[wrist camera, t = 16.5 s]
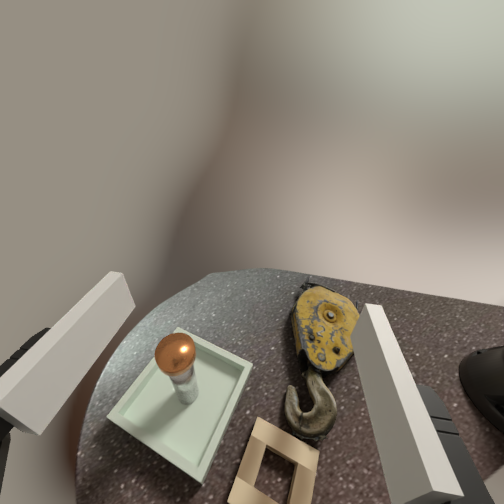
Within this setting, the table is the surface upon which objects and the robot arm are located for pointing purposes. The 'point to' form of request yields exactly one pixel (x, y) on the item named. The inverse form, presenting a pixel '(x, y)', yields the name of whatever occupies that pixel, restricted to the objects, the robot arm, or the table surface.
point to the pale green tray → (185, 408)
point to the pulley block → (319, 355)
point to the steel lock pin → (179, 365)
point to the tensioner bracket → (290, 448)
